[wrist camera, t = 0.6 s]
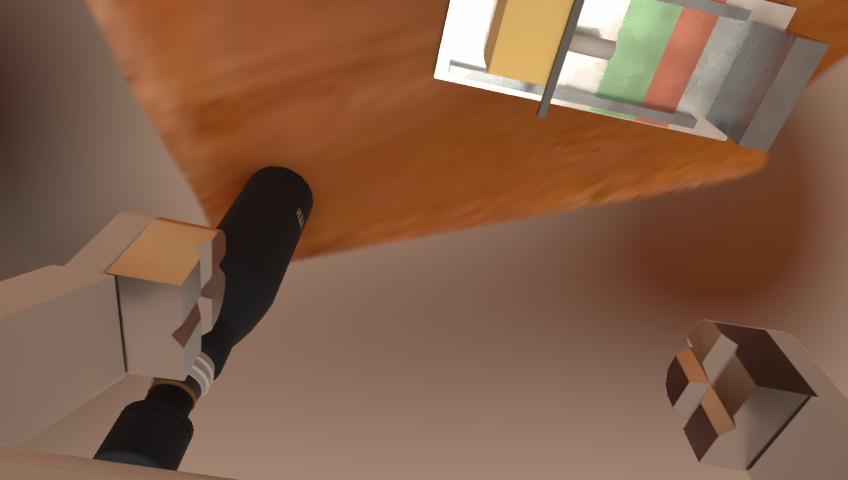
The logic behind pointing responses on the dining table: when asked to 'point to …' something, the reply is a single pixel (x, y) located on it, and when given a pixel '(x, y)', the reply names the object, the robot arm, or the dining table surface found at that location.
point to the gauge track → (661, 64)
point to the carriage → (539, 42)
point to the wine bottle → (219, 317)
